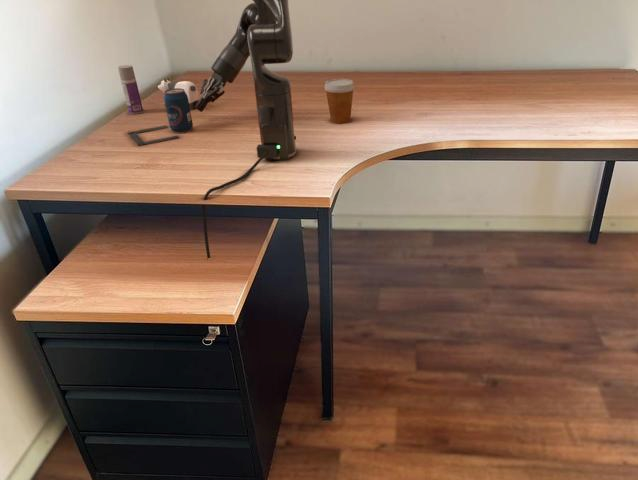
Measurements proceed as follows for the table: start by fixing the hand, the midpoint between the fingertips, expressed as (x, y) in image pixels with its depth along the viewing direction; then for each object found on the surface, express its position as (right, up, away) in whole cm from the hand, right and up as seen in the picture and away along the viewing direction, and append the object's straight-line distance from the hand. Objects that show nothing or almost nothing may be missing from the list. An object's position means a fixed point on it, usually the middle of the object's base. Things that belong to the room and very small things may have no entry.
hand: (198, 109), depth 170 cm
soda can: (-5, -6, 0) cm, 8 cm away
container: (-26, +4, +17) cm, 32 cm away
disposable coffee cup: (+44, -2, +6) cm, 45 cm away
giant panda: (-12, +7, +21) cm, 26 cm away
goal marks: (-12, -9, -4) cm, 15 cm away
